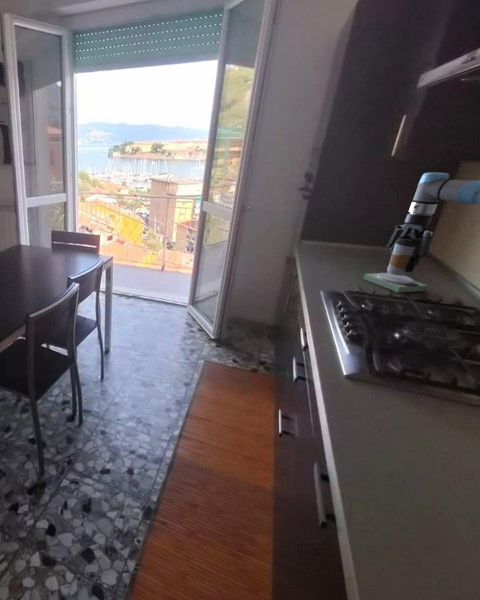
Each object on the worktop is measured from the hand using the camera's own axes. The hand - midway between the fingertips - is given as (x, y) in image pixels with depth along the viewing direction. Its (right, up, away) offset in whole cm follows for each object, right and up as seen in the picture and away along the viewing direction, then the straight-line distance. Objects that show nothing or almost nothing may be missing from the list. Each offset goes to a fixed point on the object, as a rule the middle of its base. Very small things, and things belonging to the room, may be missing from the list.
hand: (399, 268), depth 150 cm
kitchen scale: (0, -7, +3) cm, 7 cm away
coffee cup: (0, -2, +1) cm, 2 cm away
